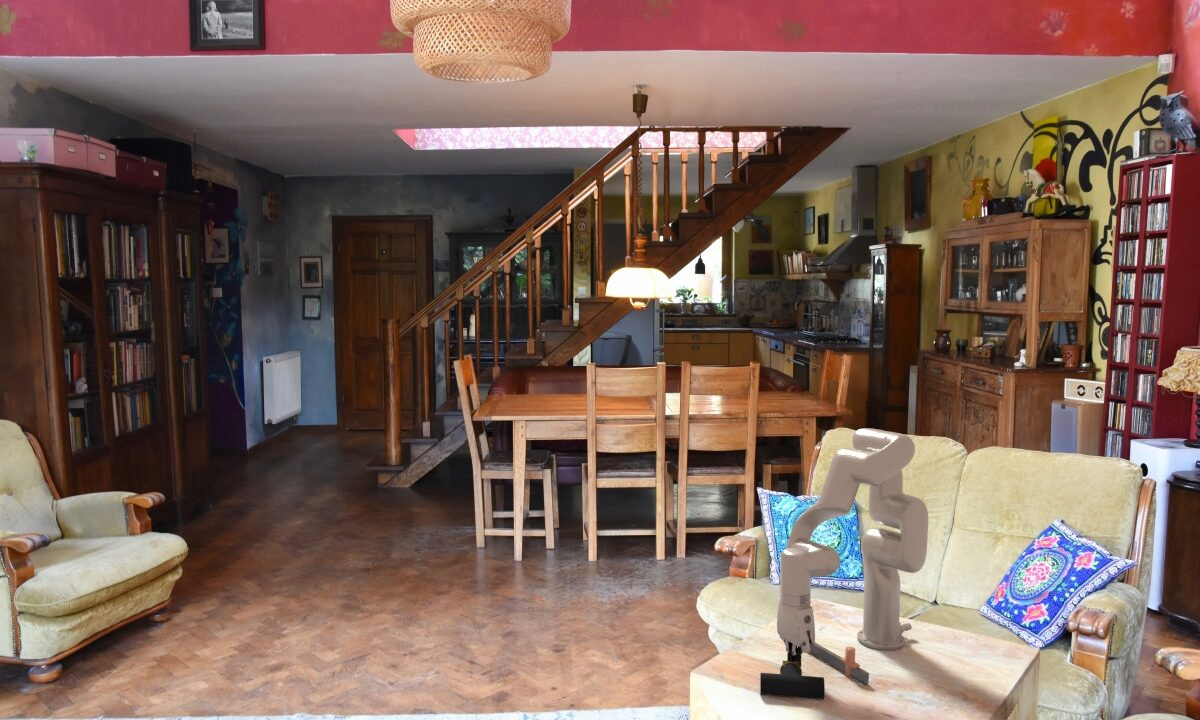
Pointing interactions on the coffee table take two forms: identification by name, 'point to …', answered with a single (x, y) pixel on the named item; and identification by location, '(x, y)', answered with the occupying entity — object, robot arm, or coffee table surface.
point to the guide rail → (841, 662)
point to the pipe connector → (792, 683)
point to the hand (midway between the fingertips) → (794, 667)
